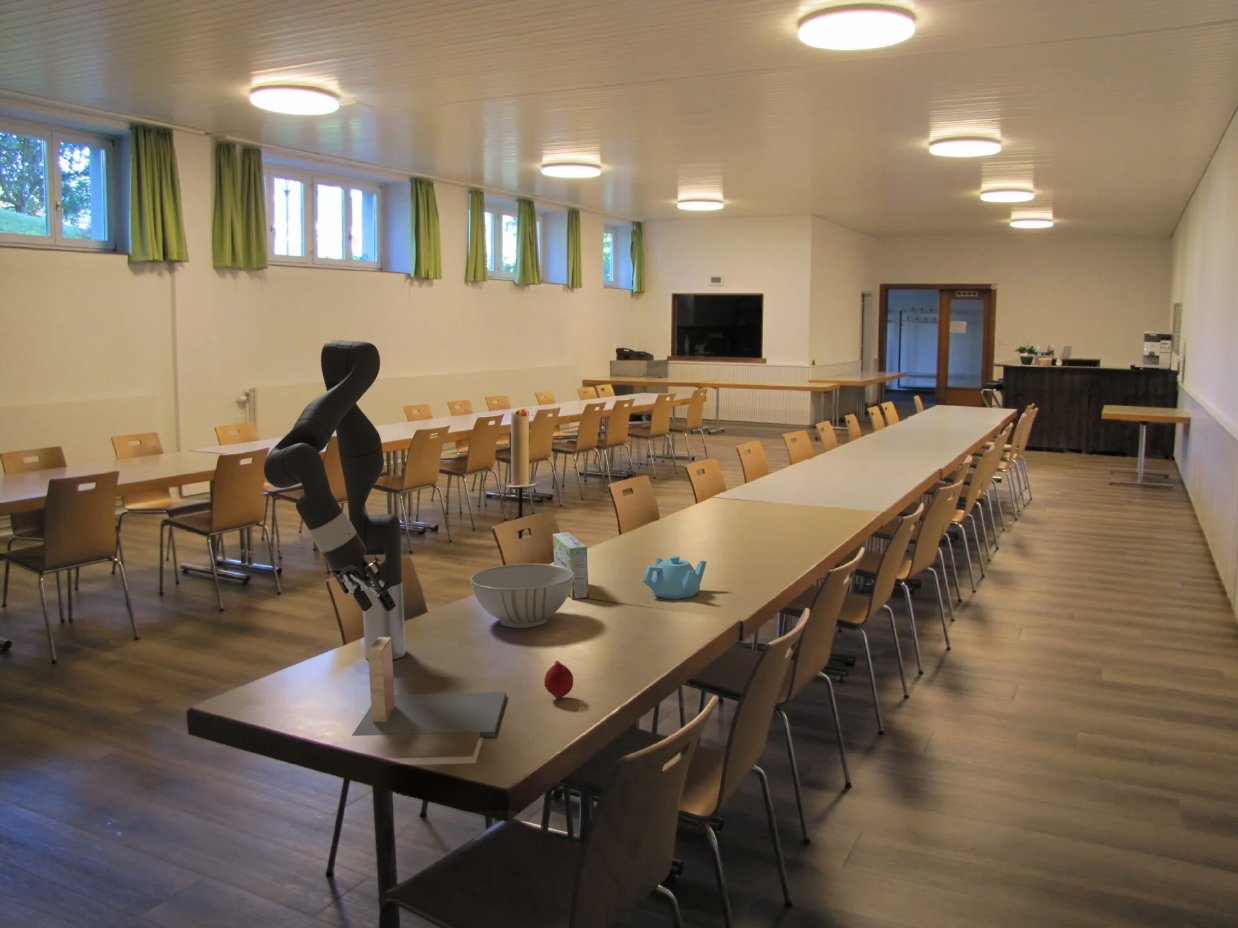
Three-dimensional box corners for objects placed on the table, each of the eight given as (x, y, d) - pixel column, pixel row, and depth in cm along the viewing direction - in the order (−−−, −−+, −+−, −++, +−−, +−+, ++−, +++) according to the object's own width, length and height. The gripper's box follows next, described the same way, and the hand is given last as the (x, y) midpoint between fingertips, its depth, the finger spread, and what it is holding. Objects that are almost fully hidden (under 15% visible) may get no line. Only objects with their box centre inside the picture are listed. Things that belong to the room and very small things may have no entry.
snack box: (553, 582, 286) (551, 533, 284) (571, 580, 288) (569, 531, 286) (571, 600, 266) (569, 547, 264) (590, 598, 268) (588, 545, 266)
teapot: (657, 585, 280) (657, 549, 279) (707, 588, 275) (707, 551, 274) (641, 598, 266) (640, 561, 265) (693, 602, 261) (693, 564, 260)
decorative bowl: (527, 643, 229) (525, 594, 227) (450, 625, 245) (447, 579, 243) (596, 616, 250) (595, 571, 248) (521, 601, 266) (519, 559, 264)
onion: (574, 692, 196) (572, 655, 195) (573, 703, 190) (572, 664, 189) (545, 693, 196) (544, 656, 195) (544, 704, 190) (543, 665, 189)
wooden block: (382, 705, 188) (378, 637, 187) (395, 705, 189) (391, 636, 187) (372, 721, 181) (368, 650, 179) (385, 721, 181) (381, 650, 179)
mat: (378, 699, 195) (378, 694, 194) (506, 696, 195) (505, 691, 195) (352, 740, 175) (351, 735, 175) (494, 736, 175) (494, 731, 175)
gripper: (372, 527, 179) (413, 597, 184) (333, 530, 189) (374, 597, 194) (341, 549, 174) (385, 621, 179) (304, 552, 184) (346, 619, 189)
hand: (379, 608), depth 186 cm, fingers open, 8 cm apart
